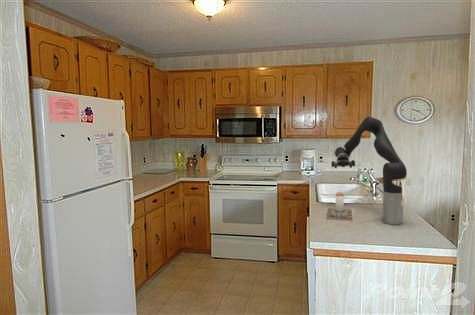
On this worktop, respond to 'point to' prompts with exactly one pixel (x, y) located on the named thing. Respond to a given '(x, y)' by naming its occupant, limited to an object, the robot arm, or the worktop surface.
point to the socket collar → (339, 214)
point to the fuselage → (339, 202)
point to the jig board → (348, 218)
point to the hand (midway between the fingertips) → (343, 166)
